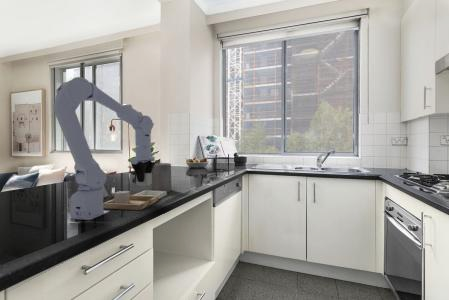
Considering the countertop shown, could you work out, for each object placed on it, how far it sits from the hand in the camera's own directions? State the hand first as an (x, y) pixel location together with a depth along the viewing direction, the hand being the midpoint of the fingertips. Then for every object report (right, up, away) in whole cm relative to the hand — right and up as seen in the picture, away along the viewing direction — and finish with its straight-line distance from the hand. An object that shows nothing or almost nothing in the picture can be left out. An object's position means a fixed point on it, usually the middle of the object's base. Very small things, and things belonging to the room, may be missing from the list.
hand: (143, 180), depth 94 cm
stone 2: (0, -2, 0) cm, 2 cm away
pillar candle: (0, -9, +25) cm, 27 cm away
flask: (-24, -9, +11) cm, 28 cm away
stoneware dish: (-1, -9, +10) cm, 13 cm away
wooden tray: (-4, -9, -3) cm, 10 cm away
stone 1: (-8, -9, -2) cm, 12 cm away
